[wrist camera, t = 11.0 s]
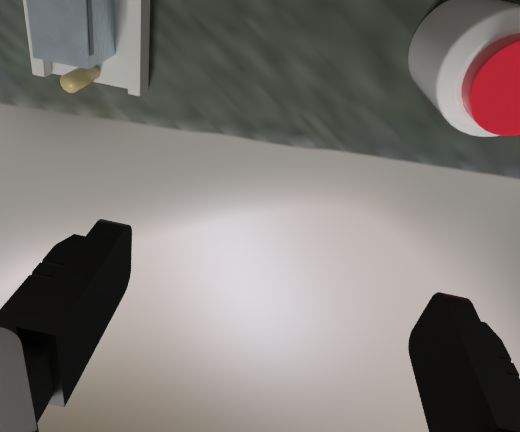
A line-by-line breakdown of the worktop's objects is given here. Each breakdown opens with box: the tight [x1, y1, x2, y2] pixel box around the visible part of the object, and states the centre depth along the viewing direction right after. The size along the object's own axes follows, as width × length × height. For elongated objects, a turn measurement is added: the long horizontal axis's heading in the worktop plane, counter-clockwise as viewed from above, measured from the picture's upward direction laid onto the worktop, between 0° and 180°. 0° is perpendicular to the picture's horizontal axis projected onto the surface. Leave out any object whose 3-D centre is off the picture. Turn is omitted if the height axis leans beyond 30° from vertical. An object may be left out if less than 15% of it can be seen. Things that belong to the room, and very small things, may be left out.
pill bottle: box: [408, 0, 520, 137], centre depth 27 cm, size 8×8×11 cm
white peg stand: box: [23, 0, 150, 96], centre depth 30 cm, size 12×9×5 cm
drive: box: [26, 0, 115, 69], centre depth 30 cm, size 7×4×5 cm, turn 169°
